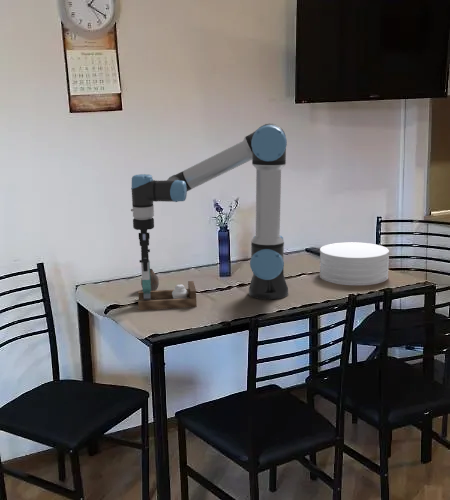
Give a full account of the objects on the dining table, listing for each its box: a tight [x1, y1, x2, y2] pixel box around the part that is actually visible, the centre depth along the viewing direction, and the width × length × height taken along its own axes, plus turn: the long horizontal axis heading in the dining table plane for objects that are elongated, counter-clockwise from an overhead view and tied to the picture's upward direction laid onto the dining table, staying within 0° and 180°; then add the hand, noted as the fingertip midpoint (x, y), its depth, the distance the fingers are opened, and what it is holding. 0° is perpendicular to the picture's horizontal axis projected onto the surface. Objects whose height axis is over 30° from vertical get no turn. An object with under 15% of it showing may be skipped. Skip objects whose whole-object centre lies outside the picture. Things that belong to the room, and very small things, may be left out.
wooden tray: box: [137, 280, 198, 311], centre depth 257 cm, size 21×14×6 cm, turn 97°
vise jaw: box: [141, 259, 151, 301], centre depth 255 cm, size 3×10×16 cm, turn 7°
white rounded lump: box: [172, 284, 188, 299], centre depth 257 cm, size 6×6×7 cm
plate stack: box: [319, 241, 390, 286], centre depth 287 cm, size 28×28×12 cm
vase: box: [140, 268, 160, 291], centre depth 273 cm, size 7×7×9 cm
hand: (145, 274), depth 254 cm, fingers open, 13 cm apart
